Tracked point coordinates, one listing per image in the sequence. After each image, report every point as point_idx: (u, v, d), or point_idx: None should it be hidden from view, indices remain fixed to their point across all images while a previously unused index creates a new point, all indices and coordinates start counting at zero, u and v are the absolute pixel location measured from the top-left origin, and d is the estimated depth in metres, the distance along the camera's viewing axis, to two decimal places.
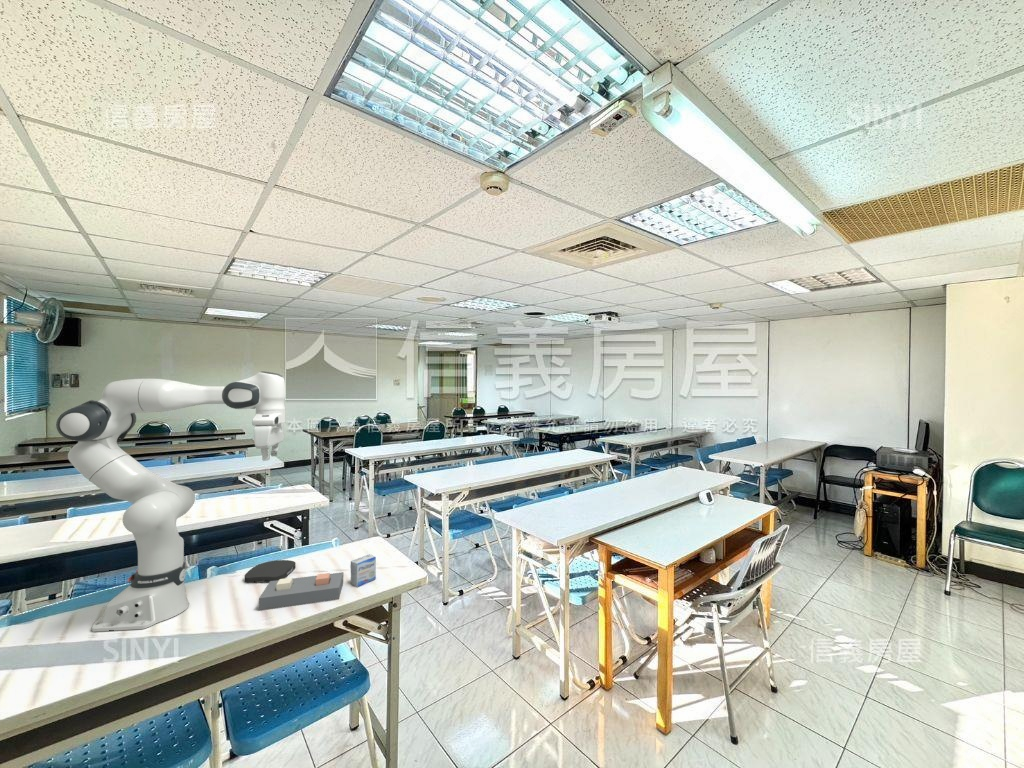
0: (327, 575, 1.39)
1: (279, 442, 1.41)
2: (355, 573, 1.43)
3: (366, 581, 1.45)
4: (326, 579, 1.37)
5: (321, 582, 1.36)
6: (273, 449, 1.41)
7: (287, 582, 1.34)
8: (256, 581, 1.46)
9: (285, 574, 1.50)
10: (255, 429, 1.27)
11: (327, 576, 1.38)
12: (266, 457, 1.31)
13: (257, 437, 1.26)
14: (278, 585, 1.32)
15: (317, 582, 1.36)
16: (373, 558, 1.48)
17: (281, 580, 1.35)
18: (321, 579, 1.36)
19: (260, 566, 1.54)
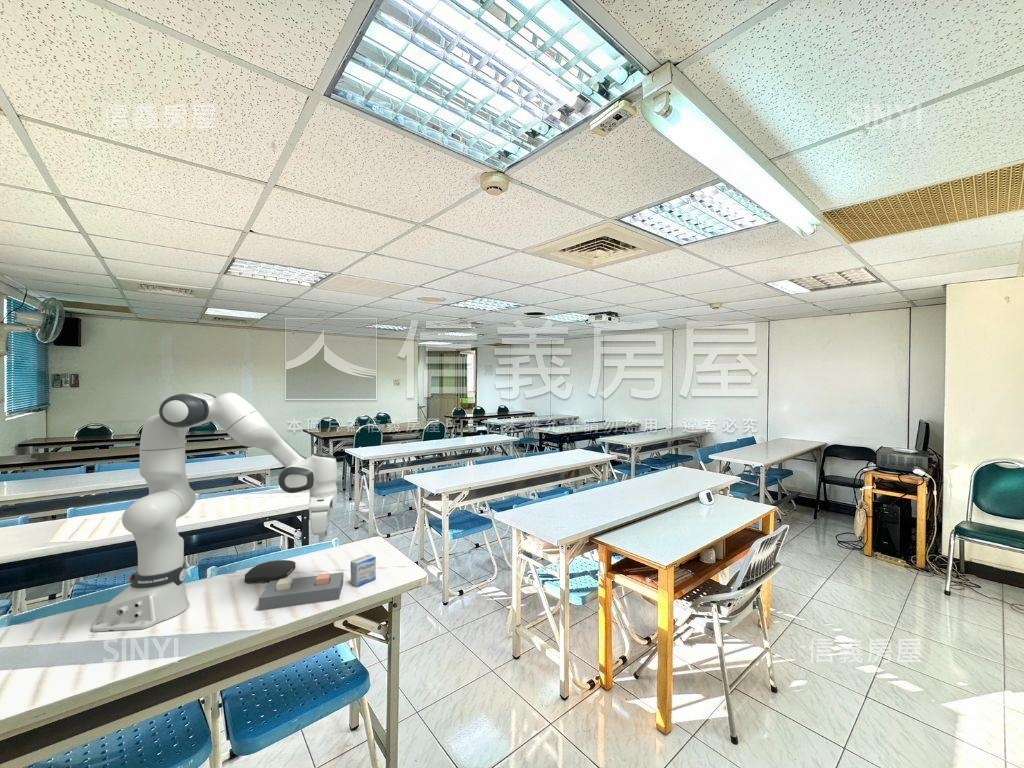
0: (327, 575, 1.39)
1: (330, 520, 1.43)
2: (355, 573, 1.43)
3: (366, 581, 1.45)
4: (326, 579, 1.37)
5: (321, 582, 1.36)
6: None
7: (287, 582, 1.34)
8: (256, 581, 1.46)
9: (285, 574, 1.50)
10: (312, 516, 1.29)
11: (327, 576, 1.38)
12: (322, 538, 1.36)
13: (314, 524, 1.29)
14: (278, 585, 1.32)
15: (317, 582, 1.36)
16: (373, 558, 1.48)
17: (281, 580, 1.35)
18: (321, 579, 1.36)
19: (260, 566, 1.54)
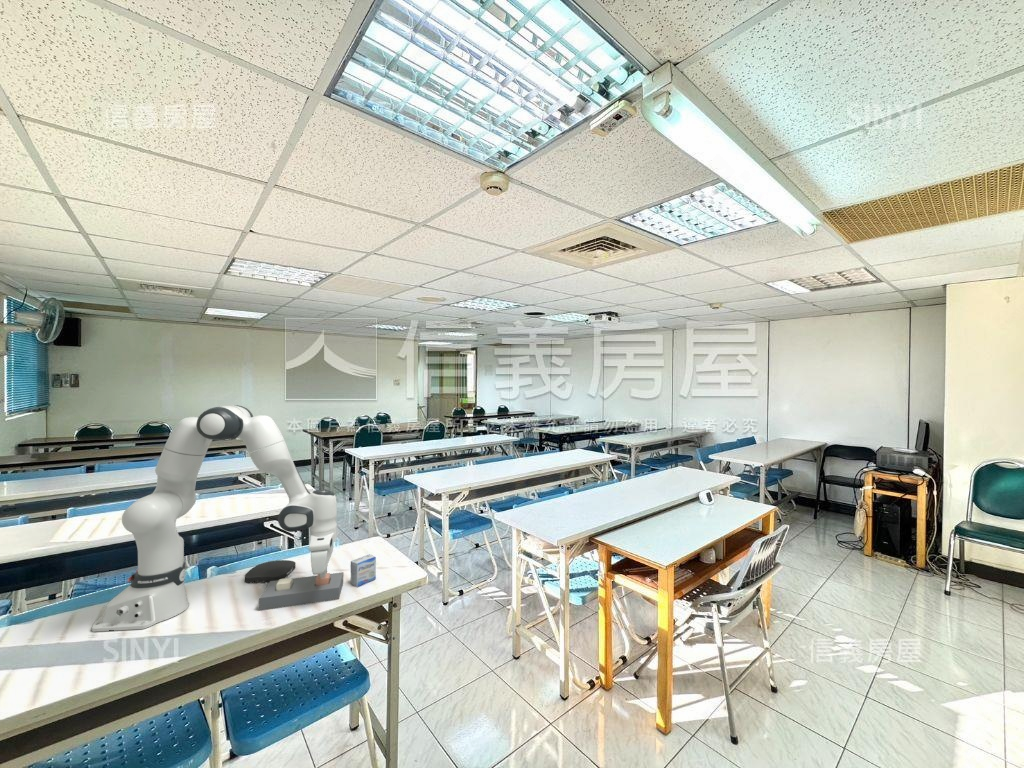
0: (327, 575, 1.39)
1: None
2: (355, 573, 1.43)
3: (366, 581, 1.45)
4: (326, 579, 1.37)
5: (321, 582, 1.36)
6: None
7: (287, 582, 1.34)
8: (256, 581, 1.46)
9: (285, 574, 1.50)
10: (312, 556, 1.29)
11: (327, 576, 1.38)
12: (323, 574, 1.37)
13: (314, 564, 1.29)
14: (278, 585, 1.32)
15: (317, 582, 1.36)
16: (373, 558, 1.48)
17: (281, 580, 1.35)
18: (321, 579, 1.36)
19: (260, 566, 1.54)
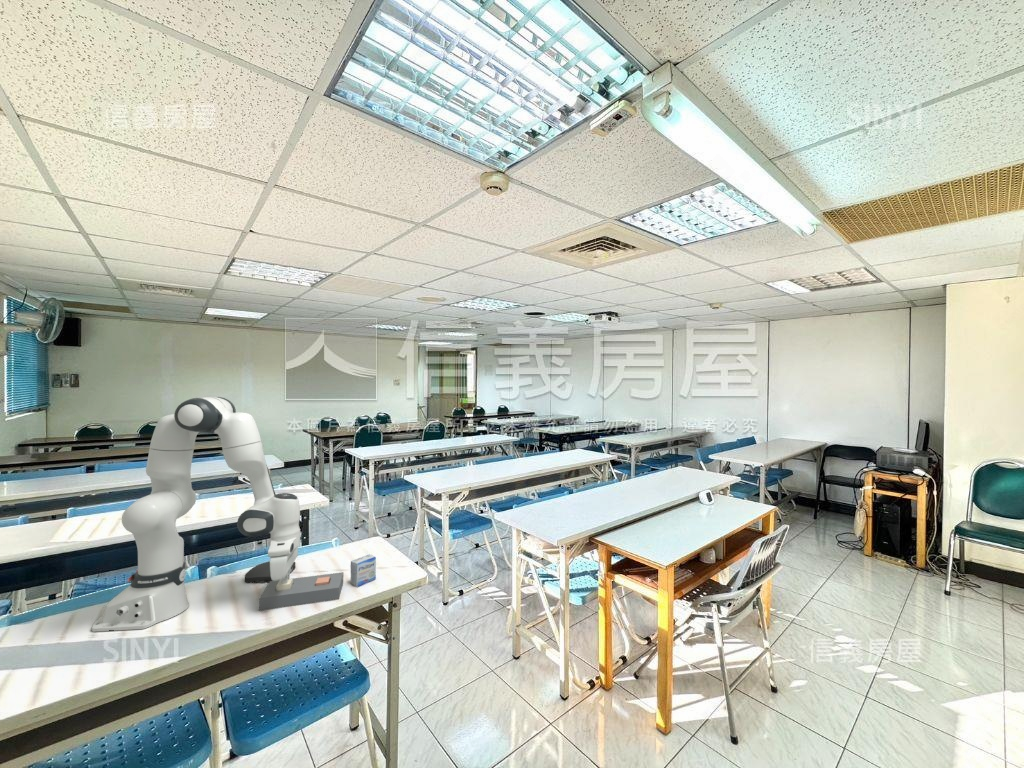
0: (327, 578, 1.39)
1: None
2: (355, 573, 1.43)
3: (366, 581, 1.45)
4: (326, 583, 1.37)
5: None
6: None
7: (287, 583, 1.34)
8: (256, 581, 1.46)
9: None
10: (271, 561, 1.26)
11: (327, 580, 1.38)
12: (285, 580, 1.34)
13: (273, 570, 1.25)
14: (278, 586, 1.32)
15: None
16: (373, 558, 1.48)
17: (281, 582, 1.35)
18: (321, 583, 1.36)
19: (260, 566, 1.54)
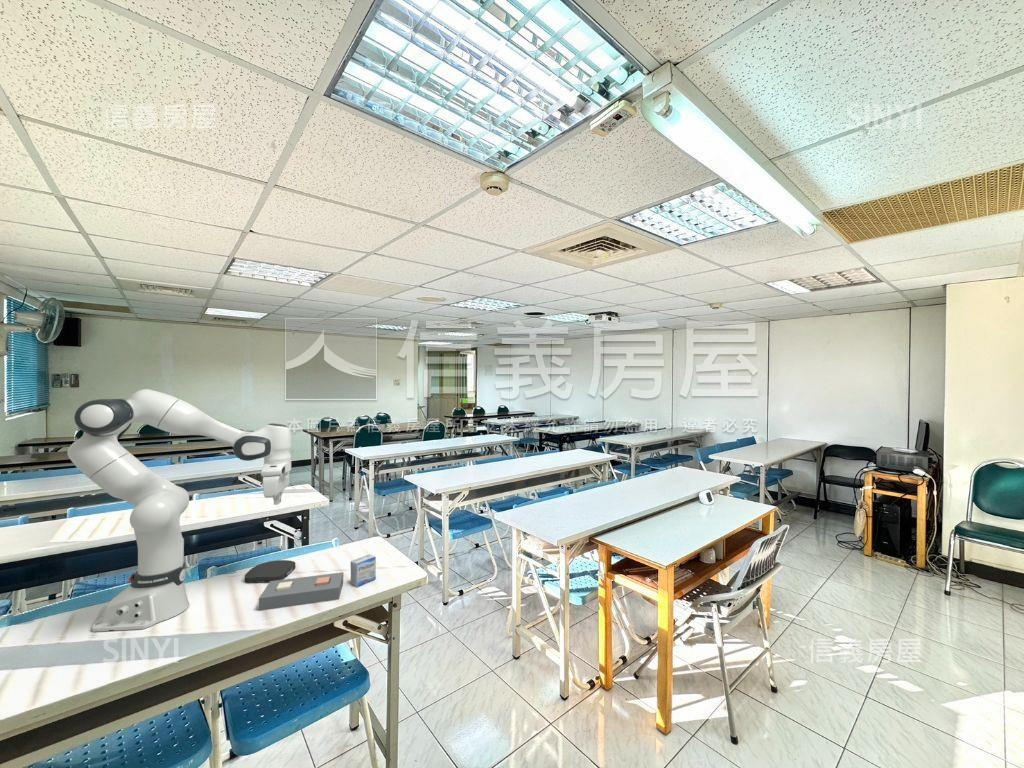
0: (327, 578, 1.39)
1: (285, 487, 1.52)
2: (355, 573, 1.43)
3: (366, 581, 1.45)
4: (326, 583, 1.37)
5: None
6: None
7: (287, 586, 1.34)
8: (256, 581, 1.46)
9: (285, 574, 1.50)
10: (264, 480, 1.38)
11: (327, 580, 1.38)
12: (277, 501, 1.46)
13: (266, 488, 1.37)
14: (278, 589, 1.32)
15: None
16: (373, 558, 1.48)
17: (281, 584, 1.35)
18: (321, 583, 1.36)
19: (260, 566, 1.54)
